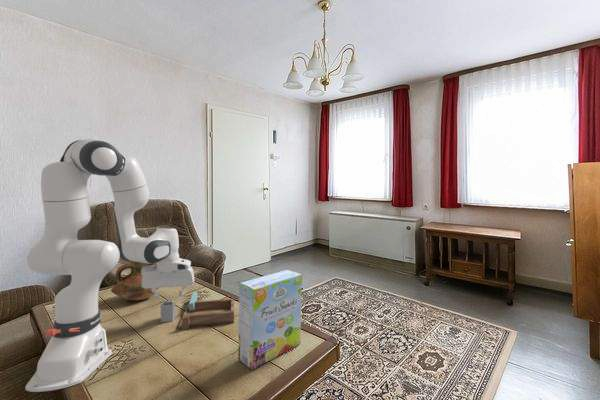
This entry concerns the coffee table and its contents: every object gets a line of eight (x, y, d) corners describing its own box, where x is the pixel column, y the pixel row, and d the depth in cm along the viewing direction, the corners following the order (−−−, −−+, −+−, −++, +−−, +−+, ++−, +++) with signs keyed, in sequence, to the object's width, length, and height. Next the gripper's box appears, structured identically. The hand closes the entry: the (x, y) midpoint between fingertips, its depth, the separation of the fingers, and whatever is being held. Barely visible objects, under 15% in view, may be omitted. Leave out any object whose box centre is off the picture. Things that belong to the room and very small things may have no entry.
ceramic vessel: (173, 298, 142) (171, 249, 141) (111, 310, 129) (109, 256, 127) (168, 288, 157) (166, 243, 156) (111, 298, 143) (110, 248, 142)
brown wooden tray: (233, 324, 116) (233, 313, 116) (178, 330, 111) (178, 319, 111) (234, 296, 145) (234, 288, 144) (190, 300, 140) (190, 291, 140)
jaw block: (172, 321, 119) (172, 303, 118) (161, 322, 118) (160, 304, 117) (175, 316, 123) (174, 299, 123) (163, 317, 122) (163, 300, 122)
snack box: (253, 372, 86) (252, 289, 85) (237, 360, 92) (236, 282, 91) (302, 344, 102) (302, 273, 100) (286, 335, 108) (285, 268, 106)
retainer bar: (193, 310, 126) (192, 303, 126) (189, 310, 126) (189, 303, 126) (197, 298, 140) (197, 291, 140) (193, 298, 139) (193, 292, 139)
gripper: (138, 268, 114) (139, 301, 115) (192, 265, 118) (193, 297, 119) (143, 263, 120) (145, 295, 121) (194, 260, 124) (195, 291, 126)
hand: (169, 296), depth 120 cm, fingers open, 8 cm apart
